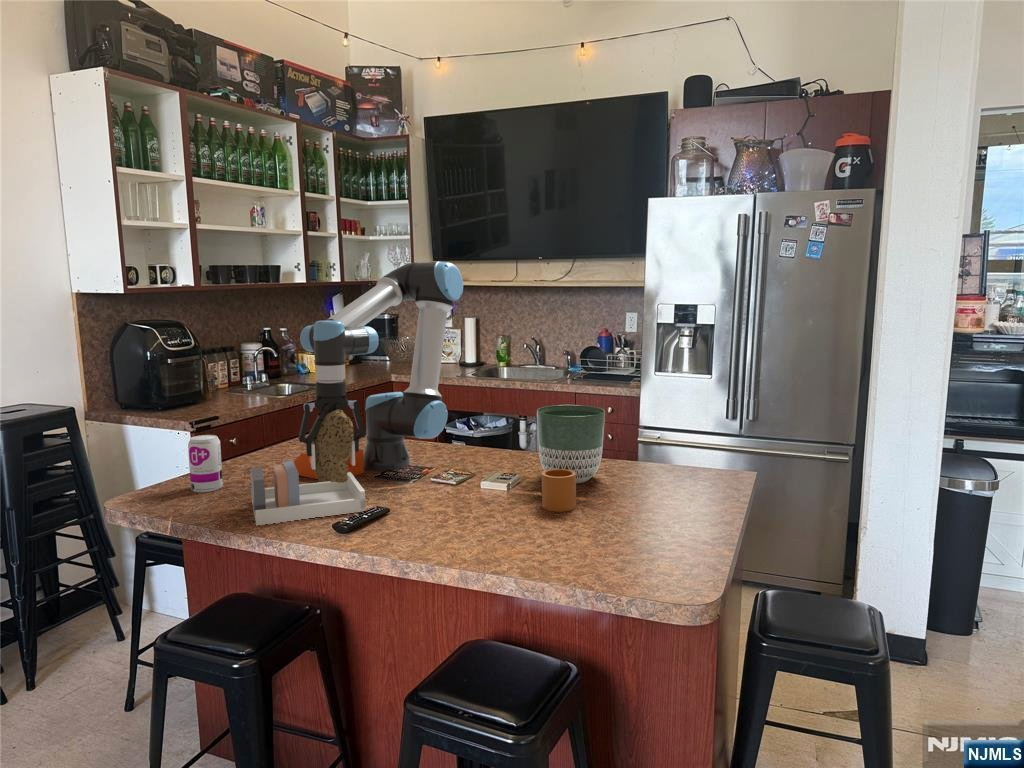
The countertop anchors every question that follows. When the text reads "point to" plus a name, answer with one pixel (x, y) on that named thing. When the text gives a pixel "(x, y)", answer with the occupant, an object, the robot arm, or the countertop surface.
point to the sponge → (333, 447)
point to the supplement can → (205, 463)
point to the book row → (286, 484)
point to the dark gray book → (258, 488)
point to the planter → (571, 438)
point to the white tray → (315, 502)
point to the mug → (558, 490)
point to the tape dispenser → (305, 470)
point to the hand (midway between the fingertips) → (333, 466)
